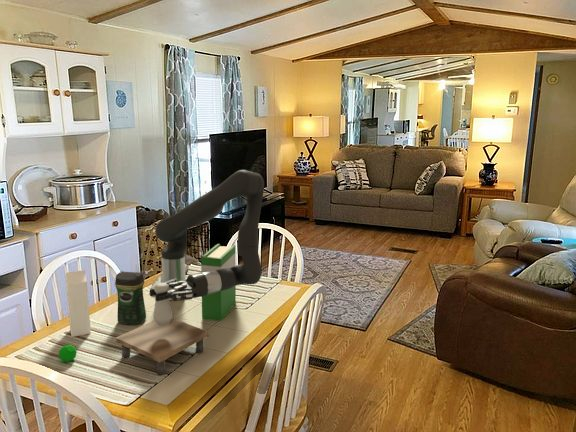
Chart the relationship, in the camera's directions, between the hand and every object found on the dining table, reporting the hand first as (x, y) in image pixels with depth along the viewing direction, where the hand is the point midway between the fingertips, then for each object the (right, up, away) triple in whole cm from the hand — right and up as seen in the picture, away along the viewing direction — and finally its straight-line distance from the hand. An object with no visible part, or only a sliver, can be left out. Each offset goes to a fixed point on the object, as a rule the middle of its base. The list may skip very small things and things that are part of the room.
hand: (153, 295), depth 143 cm
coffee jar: (-16, -14, +28) cm, 35 cm away
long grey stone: (-11, -5, +68) cm, 69 cm away
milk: (-30, -16, +19) cm, 39 cm away
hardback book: (+15, -13, +39) cm, 43 cm away
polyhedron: (-26, -20, +1) cm, 33 cm away
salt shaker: (+2, -10, +4) cm, 10 cm away
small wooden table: (+2, -19, +6) cm, 21 cm away
